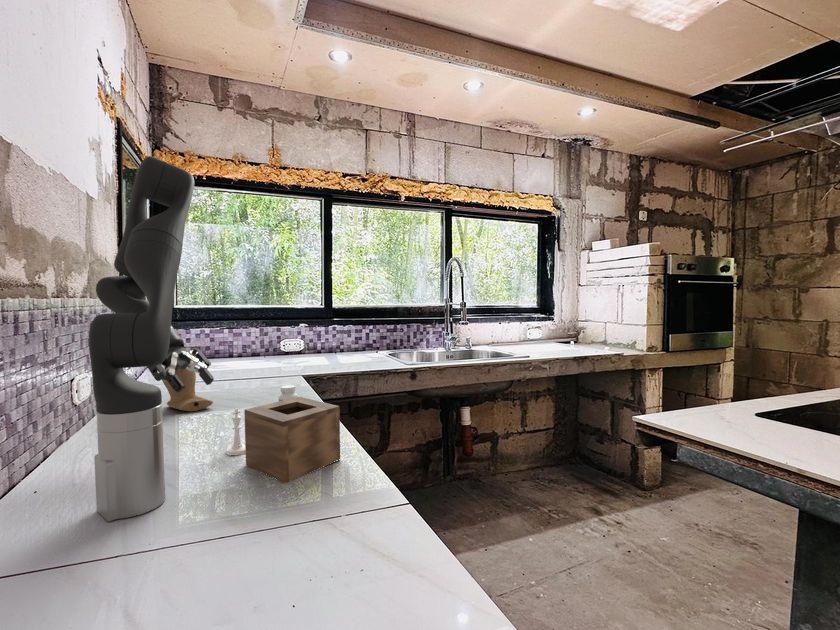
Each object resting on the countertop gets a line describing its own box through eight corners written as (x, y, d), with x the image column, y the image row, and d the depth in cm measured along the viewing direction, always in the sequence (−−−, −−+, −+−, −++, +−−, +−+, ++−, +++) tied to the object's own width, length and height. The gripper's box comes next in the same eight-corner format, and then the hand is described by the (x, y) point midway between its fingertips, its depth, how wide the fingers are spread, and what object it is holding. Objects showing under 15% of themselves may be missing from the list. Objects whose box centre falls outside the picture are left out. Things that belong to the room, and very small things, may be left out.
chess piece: (221, 453, 97) (219, 410, 97) (239, 446, 101) (238, 405, 101) (235, 457, 95) (234, 413, 94) (253, 449, 99) (252, 407, 99)
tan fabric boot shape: (156, 408, 136) (154, 361, 135) (195, 401, 145) (193, 357, 144) (173, 417, 126) (171, 367, 125) (214, 408, 135) (213, 362, 134)
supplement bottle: (301, 417, 125) (300, 384, 125) (294, 422, 120) (293, 388, 119) (283, 416, 126) (283, 384, 125) (275, 422, 120) (275, 388, 120)
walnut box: (284, 483, 82) (283, 421, 81) (245, 465, 90) (244, 409, 90) (340, 460, 93) (339, 406, 92) (301, 446, 101) (300, 396, 101)
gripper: (139, 328, 96) (179, 381, 93) (190, 324, 110) (227, 370, 107) (123, 351, 98) (162, 403, 95) (175, 344, 112) (211, 390, 109)
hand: (196, 386), depth 101 cm, fingers open, 8 cm apart
